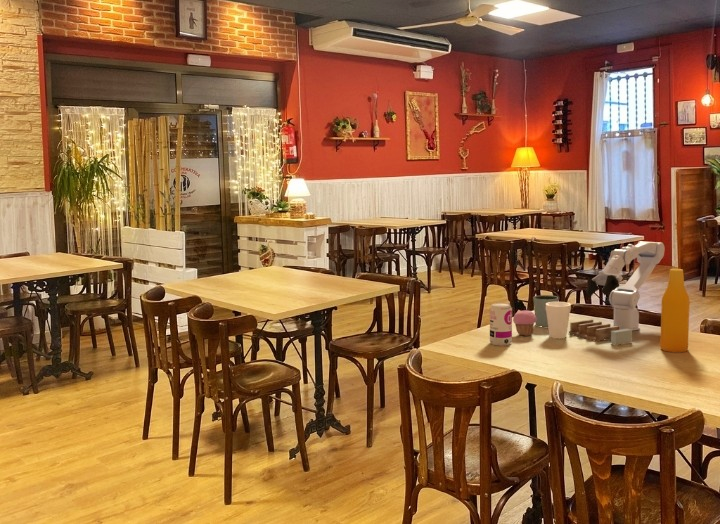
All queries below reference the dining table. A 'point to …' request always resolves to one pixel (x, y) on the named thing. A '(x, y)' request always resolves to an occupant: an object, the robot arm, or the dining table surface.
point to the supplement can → (500, 324)
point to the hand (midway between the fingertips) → (595, 294)
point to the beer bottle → (675, 314)
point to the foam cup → (558, 318)
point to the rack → (592, 329)
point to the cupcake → (524, 322)
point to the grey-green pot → (542, 308)
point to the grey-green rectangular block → (621, 336)
